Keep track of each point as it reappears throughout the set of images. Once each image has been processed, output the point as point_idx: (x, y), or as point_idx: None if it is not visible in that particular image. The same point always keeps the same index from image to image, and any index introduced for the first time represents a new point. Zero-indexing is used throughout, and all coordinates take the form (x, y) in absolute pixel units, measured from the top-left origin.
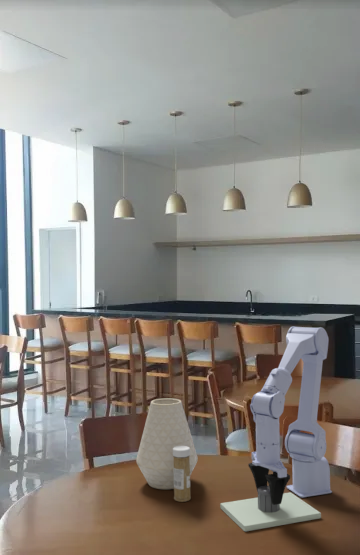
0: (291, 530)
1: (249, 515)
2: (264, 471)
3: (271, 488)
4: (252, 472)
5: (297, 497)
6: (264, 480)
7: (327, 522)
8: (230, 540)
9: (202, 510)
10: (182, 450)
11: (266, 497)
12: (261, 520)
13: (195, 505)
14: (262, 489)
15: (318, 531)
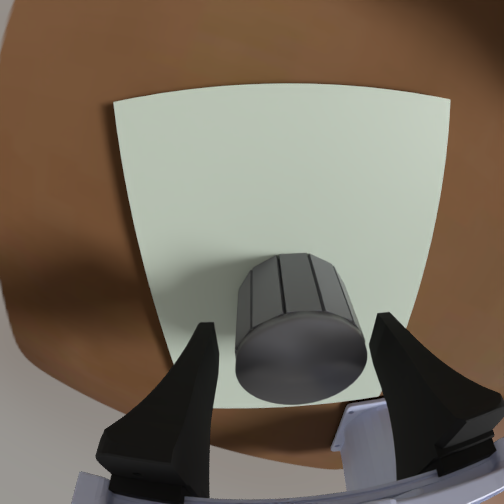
0: (110, 291)
1: (239, 175)
2: (404, 434)
3: (162, 390)
4: (455, 381)
5: (332, 401)
6: (390, 389)
7: None
8: (67, 22)
9: (440, 9)
10: None
11: (248, 325)
12: (159, 211)
13: (491, 20)
14: (319, 346)
15: (102, 351)
